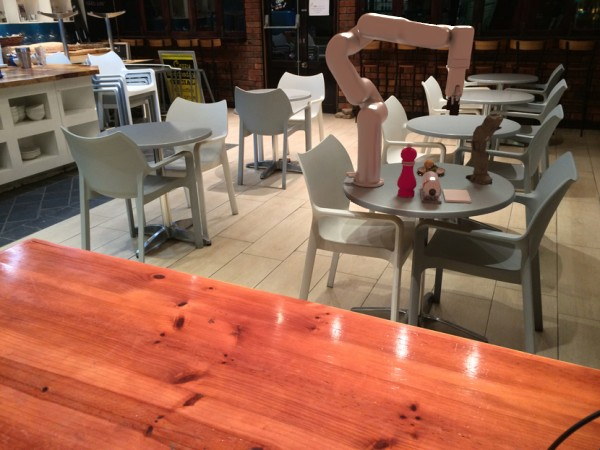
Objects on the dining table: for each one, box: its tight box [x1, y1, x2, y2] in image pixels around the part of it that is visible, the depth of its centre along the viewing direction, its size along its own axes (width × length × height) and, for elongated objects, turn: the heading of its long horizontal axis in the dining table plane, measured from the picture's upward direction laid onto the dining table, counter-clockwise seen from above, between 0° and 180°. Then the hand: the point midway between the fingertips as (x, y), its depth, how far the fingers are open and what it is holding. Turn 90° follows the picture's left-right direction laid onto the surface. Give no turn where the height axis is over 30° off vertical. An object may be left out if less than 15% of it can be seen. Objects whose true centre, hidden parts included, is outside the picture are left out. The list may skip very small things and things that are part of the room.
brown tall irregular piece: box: [465, 112, 504, 185], centre depth 196 cm, size 13×7×29 cm, turn 25°
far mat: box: [442, 188, 472, 204], centre depth 184 cm, size 9×12×1 cm
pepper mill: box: [396, 142, 418, 198], centre depth 184 cm, size 7×7×20 cm
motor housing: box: [419, 171, 443, 205], centre depth 185 cm, size 7×16×7 cm, turn 170°
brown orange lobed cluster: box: [416, 159, 446, 178], centre depth 211 cm, size 12×12×8 cm
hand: (451, 112), depth 179 cm, fingers open, 9 cm apart
